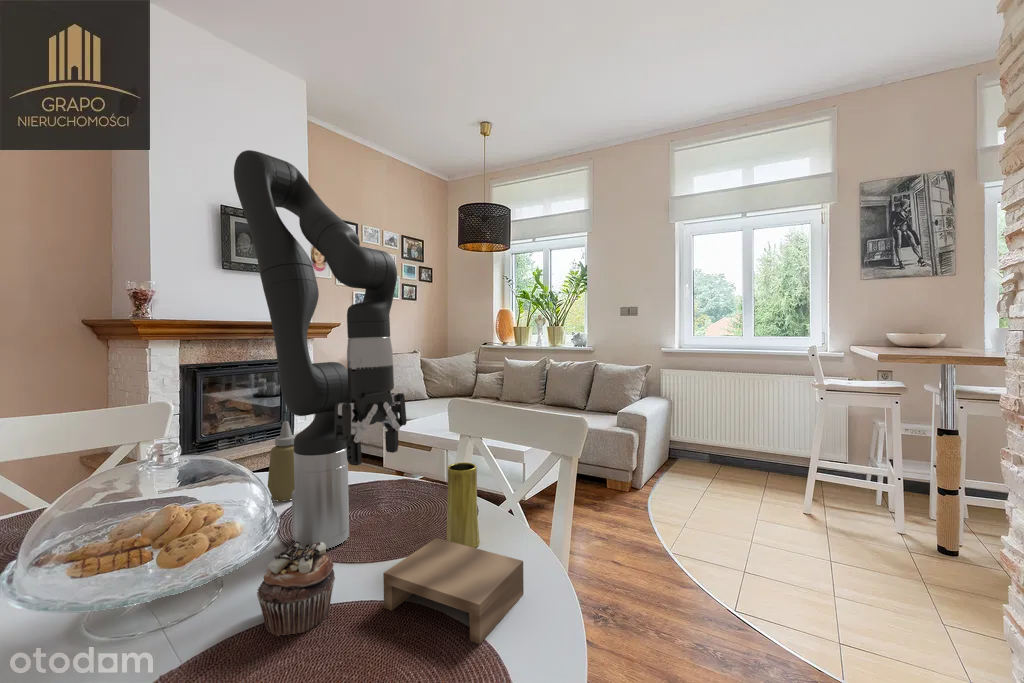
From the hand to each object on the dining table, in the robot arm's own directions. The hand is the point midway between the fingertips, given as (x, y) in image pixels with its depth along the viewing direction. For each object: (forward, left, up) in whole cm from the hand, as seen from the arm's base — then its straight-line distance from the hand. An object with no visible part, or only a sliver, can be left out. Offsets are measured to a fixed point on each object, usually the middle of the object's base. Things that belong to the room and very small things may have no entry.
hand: (374, 458), depth 78 cm
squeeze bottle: (-39, +11, -17) cm, 44 cm away
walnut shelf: (+20, -4, -17) cm, 27 cm away
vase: (+11, +11, -17) cm, 23 cm away
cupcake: (+3, -17, -17) cm, 25 cm away
